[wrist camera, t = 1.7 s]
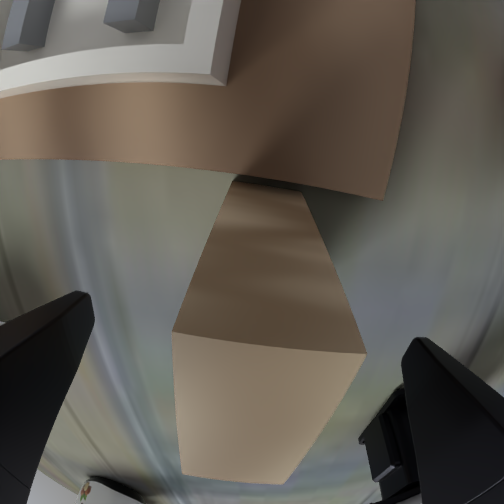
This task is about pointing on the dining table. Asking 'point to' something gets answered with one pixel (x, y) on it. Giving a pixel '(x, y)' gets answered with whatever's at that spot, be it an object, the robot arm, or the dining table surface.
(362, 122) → the brown slab
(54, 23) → the white rectangular tray
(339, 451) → the dining table surface
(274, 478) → the tan cardboard-colored prism
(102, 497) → the spread jar
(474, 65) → the dining table surface
